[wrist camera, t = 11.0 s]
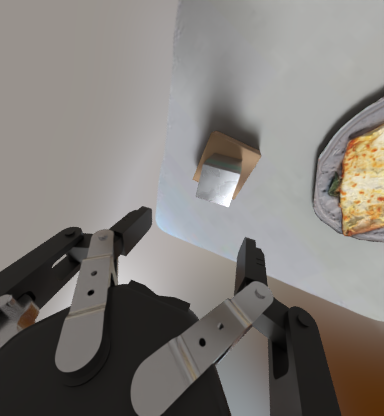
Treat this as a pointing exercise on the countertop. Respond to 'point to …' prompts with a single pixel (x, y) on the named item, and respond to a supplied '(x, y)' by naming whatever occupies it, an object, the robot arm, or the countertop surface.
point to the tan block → (232, 149)
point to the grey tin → (219, 179)
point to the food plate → (354, 177)
